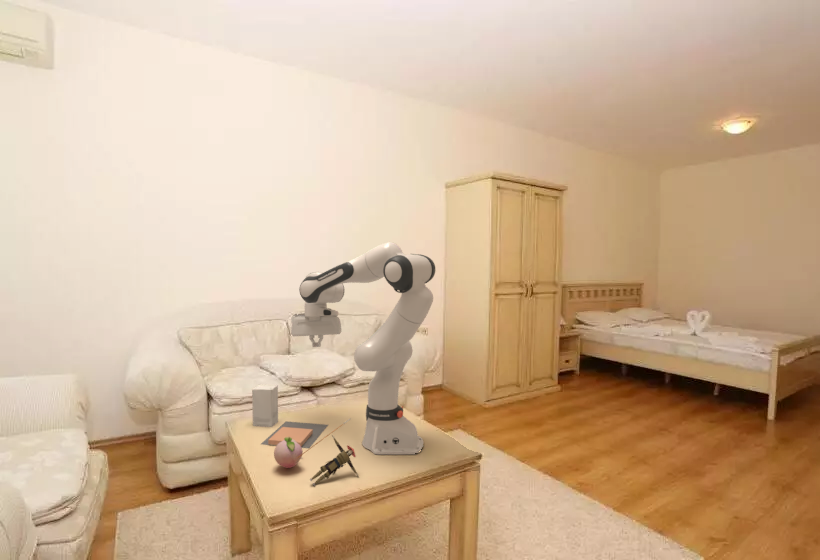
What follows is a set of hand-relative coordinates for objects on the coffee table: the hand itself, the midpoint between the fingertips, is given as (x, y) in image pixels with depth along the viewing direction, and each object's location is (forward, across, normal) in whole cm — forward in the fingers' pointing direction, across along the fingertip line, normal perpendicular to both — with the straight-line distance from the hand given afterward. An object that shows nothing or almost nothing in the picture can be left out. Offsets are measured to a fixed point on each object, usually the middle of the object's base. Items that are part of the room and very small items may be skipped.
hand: (316, 346), depth 169 cm
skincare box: (+30, -22, 0) cm, 37 cm away
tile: (+31, -6, -6) cm, 32 cm away
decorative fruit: (+37, +1, -31) cm, 48 cm away
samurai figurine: (+39, +15, -34) cm, 54 cm away
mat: (+33, -6, -7) cm, 34 cm away
